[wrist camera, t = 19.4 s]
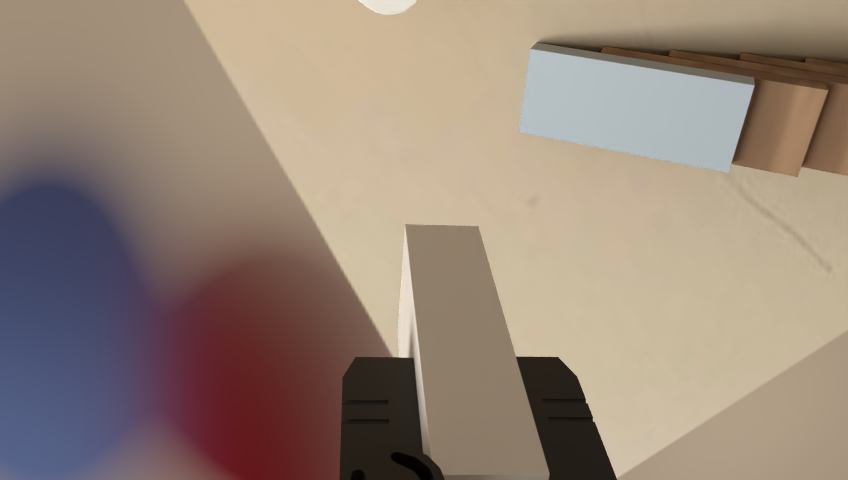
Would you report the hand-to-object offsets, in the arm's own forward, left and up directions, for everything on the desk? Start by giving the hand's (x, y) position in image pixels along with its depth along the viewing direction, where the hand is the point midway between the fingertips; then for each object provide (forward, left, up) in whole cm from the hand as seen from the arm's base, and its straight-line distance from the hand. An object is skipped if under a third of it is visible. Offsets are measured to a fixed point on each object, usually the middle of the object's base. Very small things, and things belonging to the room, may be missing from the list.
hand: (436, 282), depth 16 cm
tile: (+9, +4, -29) cm, 30 cm away
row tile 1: (+11, +7, -29) cm, 32 cm away
